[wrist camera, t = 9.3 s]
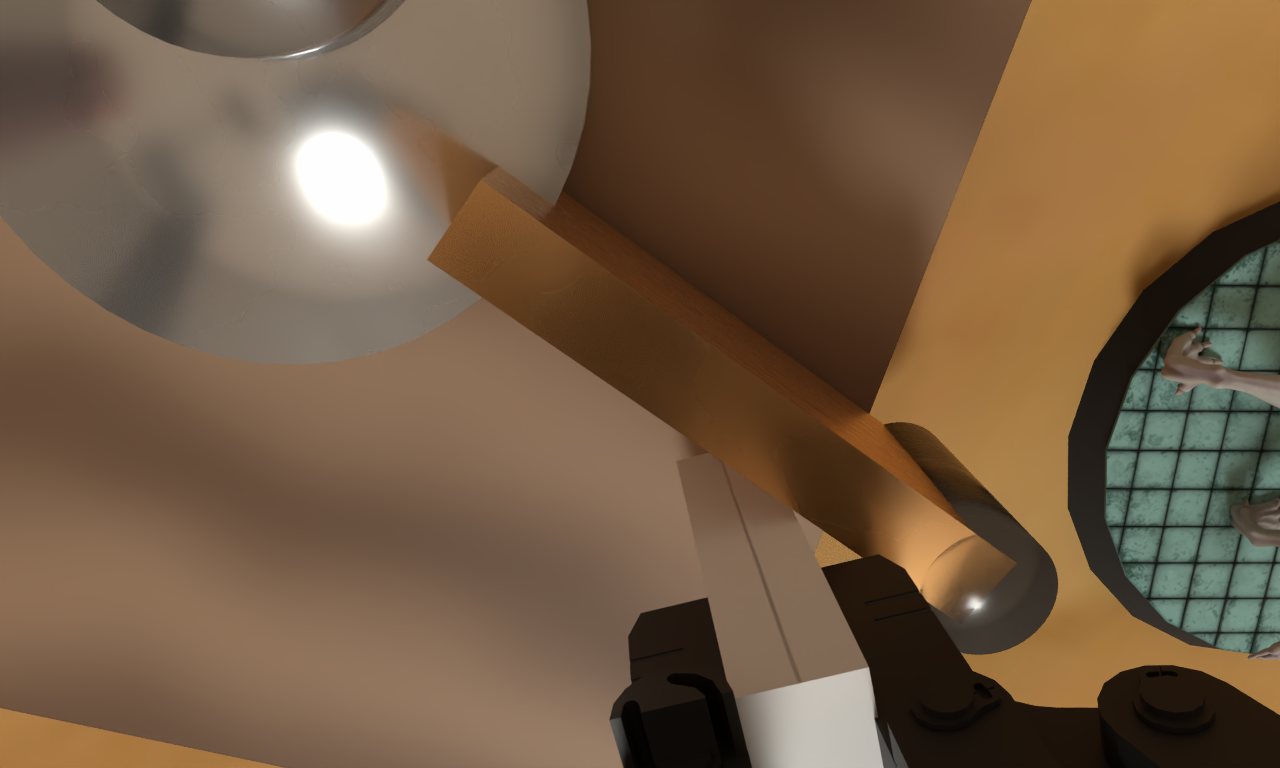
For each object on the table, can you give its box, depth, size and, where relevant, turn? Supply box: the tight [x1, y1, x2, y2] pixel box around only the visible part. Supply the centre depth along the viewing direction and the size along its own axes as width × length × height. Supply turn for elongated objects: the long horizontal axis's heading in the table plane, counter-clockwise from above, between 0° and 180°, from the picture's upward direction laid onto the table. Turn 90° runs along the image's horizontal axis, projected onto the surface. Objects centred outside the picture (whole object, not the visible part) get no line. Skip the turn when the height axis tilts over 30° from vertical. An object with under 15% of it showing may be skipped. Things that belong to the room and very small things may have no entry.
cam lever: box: [0, 0, 1058, 655], centre depth 13 cm, size 18×12×5 cm
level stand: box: [0, 0, 1032, 768], centre depth 16 cm, size 24×22×2 cm
